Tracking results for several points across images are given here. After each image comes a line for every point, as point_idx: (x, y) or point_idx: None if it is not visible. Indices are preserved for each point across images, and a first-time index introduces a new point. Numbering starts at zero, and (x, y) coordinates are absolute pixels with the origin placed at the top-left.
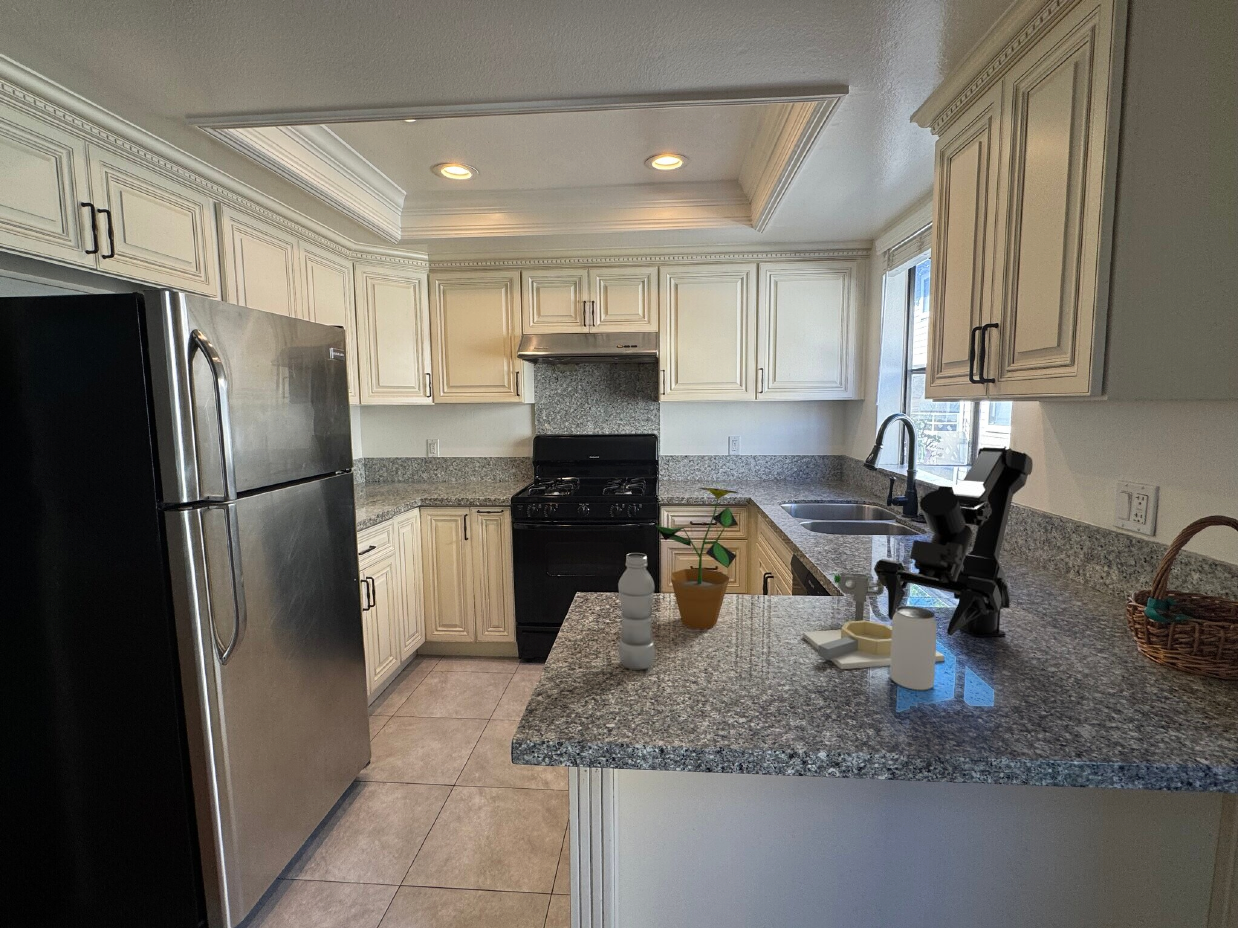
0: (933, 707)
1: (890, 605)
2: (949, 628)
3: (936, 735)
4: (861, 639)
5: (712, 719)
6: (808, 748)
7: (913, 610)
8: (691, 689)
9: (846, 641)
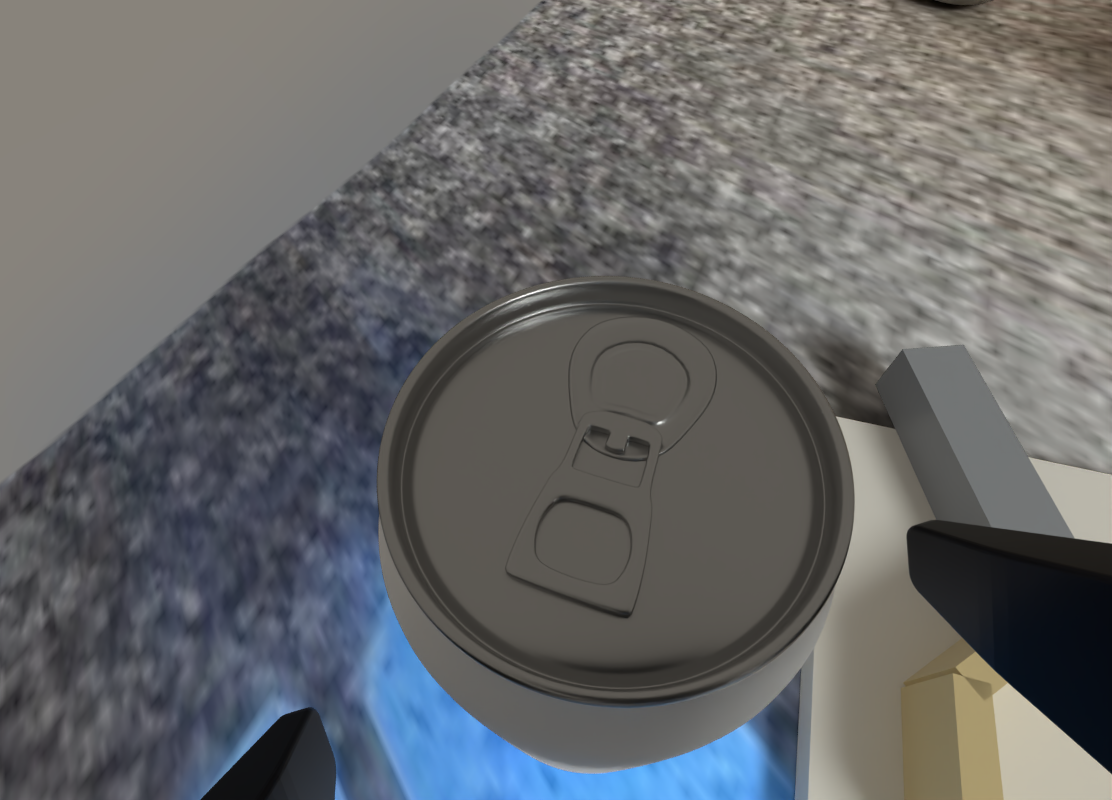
0: (374, 511)
1: (1055, 545)
2: (282, 740)
3: (272, 358)
4: None
5: (640, 22)
6: (449, 94)
7: (709, 544)
8: (788, 34)
9: (1006, 512)
